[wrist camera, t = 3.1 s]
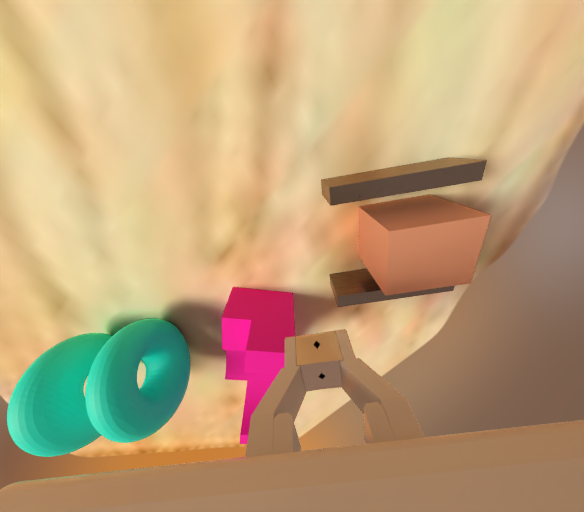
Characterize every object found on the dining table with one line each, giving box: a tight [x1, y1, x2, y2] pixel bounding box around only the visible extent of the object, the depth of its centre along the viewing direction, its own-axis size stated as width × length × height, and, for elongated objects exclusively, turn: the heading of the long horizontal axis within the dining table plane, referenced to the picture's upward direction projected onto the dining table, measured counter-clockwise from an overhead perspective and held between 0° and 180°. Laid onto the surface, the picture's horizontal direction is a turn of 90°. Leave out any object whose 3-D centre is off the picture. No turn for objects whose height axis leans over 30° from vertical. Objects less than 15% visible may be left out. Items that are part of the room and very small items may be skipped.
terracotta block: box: [358, 194, 491, 296], centre depth 16 cm, size 5×6×6 cm
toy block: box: [222, 287, 295, 444], centre depth 22 cm, size 15×6×8 cm, turn 172°
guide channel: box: [321, 158, 487, 307], centre depth 17 cm, size 10×10×4 cm
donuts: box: [7, 318, 190, 457], centre depth 20 cm, size 10×10×10 cm
